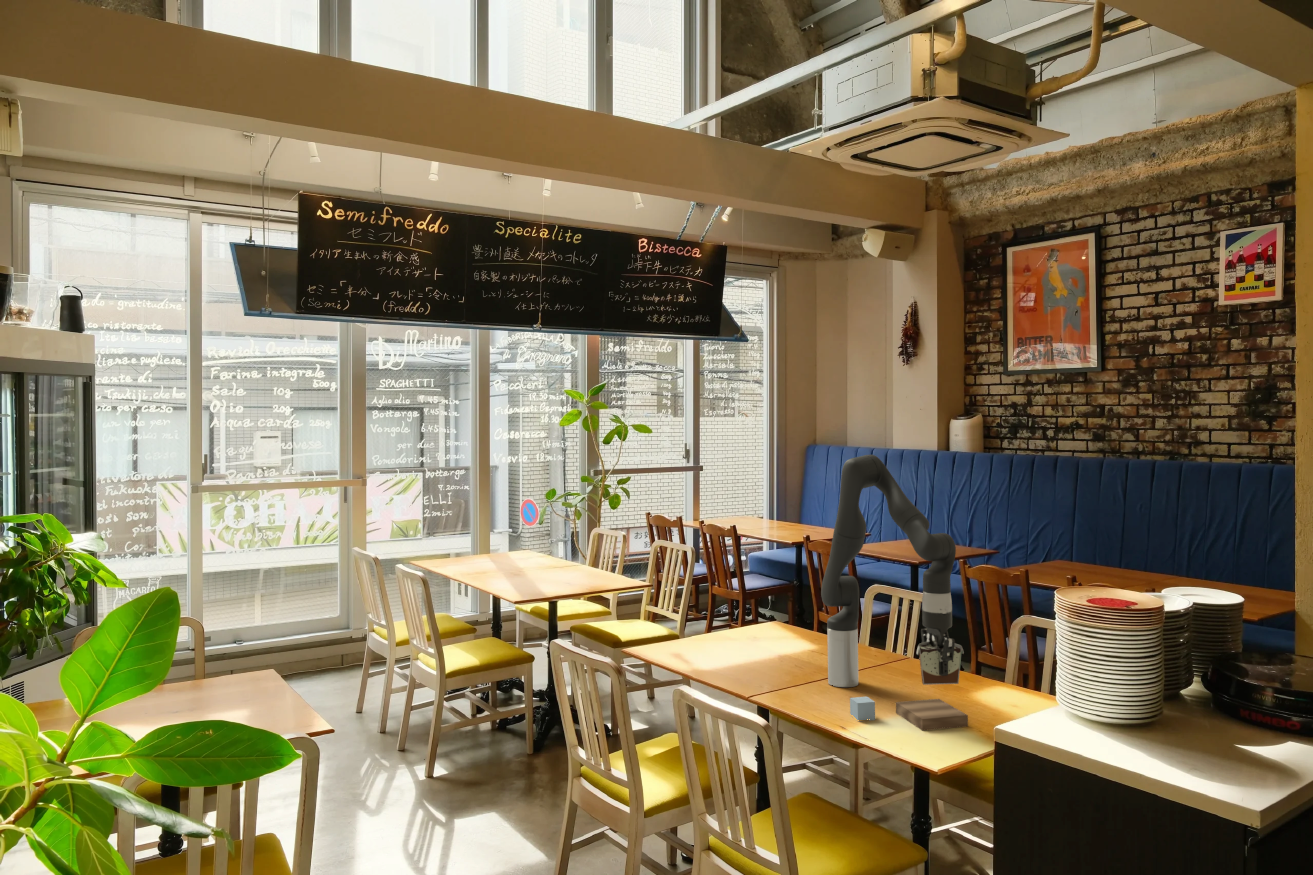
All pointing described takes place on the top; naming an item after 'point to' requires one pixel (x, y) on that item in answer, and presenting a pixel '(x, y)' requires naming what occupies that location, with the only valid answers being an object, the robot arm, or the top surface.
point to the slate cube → (862, 708)
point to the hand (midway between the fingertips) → (938, 672)
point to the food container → (931, 665)
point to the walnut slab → (931, 714)
